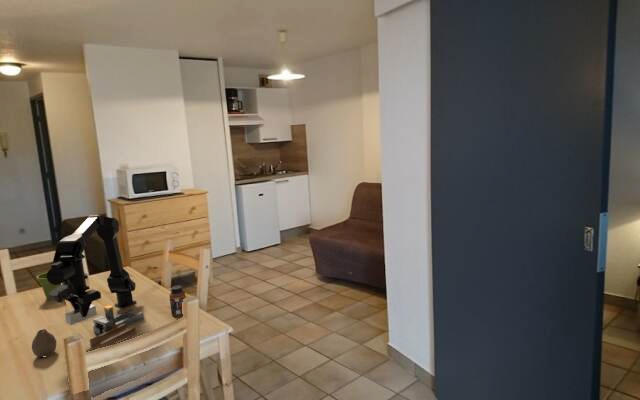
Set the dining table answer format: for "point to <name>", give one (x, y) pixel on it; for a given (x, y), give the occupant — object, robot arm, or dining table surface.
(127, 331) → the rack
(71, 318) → the bar
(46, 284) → the plant pot
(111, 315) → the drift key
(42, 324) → the dining table surface
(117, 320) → the socket
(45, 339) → the vase
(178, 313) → the supplement bottle
